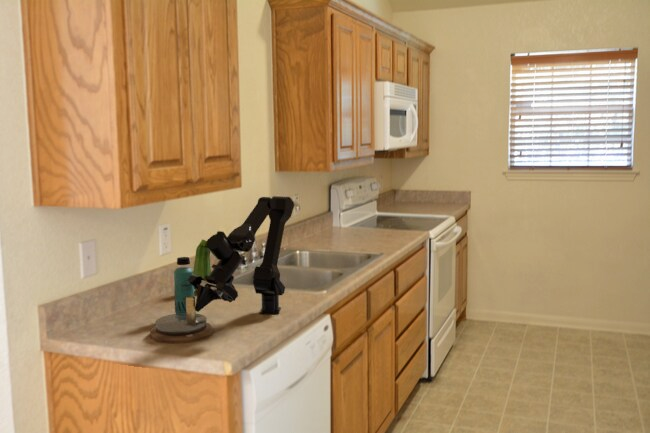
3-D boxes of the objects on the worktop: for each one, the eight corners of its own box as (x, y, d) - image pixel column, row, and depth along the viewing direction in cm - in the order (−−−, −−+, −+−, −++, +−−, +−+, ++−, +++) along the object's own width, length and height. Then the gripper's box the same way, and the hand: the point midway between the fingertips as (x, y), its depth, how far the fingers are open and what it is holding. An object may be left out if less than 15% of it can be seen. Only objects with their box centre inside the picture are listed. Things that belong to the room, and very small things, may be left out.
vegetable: (189, 291, 255) (187, 239, 252) (206, 288, 259) (204, 237, 257) (198, 295, 249) (196, 241, 247) (215, 291, 254) (213, 239, 251)
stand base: (144, 330, 206) (144, 324, 206) (201, 321, 215) (201, 316, 214) (159, 346, 191) (159, 340, 190) (220, 336, 199) (220, 331, 199)
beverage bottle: (171, 317, 220) (168, 257, 217) (188, 313, 224) (186, 254, 222) (182, 321, 215) (179, 260, 212) (199, 317, 220) (197, 257, 217)
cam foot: (146, 327, 203) (145, 294, 202) (190, 317, 213) (189, 285, 212) (171, 338, 192) (169, 303, 191) (216, 327, 202) (215, 294, 200)
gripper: (260, 287, 202) (232, 331, 196) (223, 278, 215) (195, 319, 209) (238, 266, 196) (208, 310, 189) (201, 258, 209) (172, 299, 203)
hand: (196, 310), depth 198 cm, fingers closed, pressing on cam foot
